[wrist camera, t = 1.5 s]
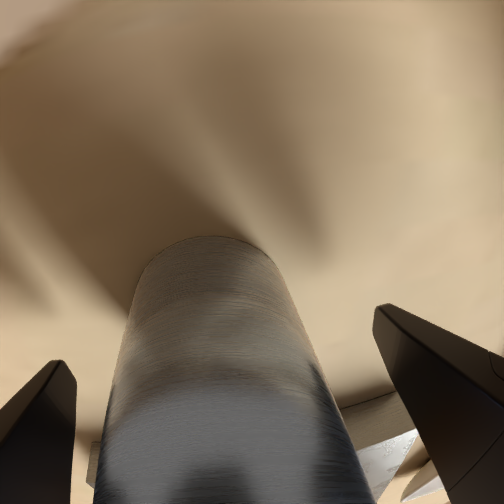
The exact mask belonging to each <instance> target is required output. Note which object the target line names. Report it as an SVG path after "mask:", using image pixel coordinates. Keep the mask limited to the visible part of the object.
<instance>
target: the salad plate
mask: <svg viewBox="0 0 504 504" xmlns="http://www.w3.org/2000/svg"><path fill="white" fill-rule="evenodd" d="M442 489H445V488H444V486H443V484H442V482H441V479H440V477H439V475H438V473H437V471H436V469H435V466H434V464H433V462H432V460H430V461H429V462H428V463H427V464H425V465H424V466H423V467H422V468H421V469H420V471H419V472H418V473H417V474H416V475H415V476H414V477H413V479H412V480H411V481H410V482H409V484H408V485H407V487H406V488H405V490H404V492H403V494H402V497H401V502H406V501H409V500H412V499H416V498H419V497H422V496H425V495H428V494H431V493H434V492H437V491H439V490H442Z"/></svg>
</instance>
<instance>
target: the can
mask: <svg viewBox="0 0 504 504" xmlns="http://www.w3.org/2000/svg"><path fill="white" fill-rule="evenodd" d="M93 504H377V502H376V500H375V497H374V495H373V492H372V490H371V487H370V485H369V482H368V480H367V477H366V475H365V472H364V470H363V467H362V465H361V462H360V460H359V457H358V455H357V452H356V450H355V447H354V445H353V443H352V440H351V438H350V435H349V433H348V430H347V428H346V425H345V423H344V421H343V418H342V416H341V413H340V411H339V409H338V406H337V404H336V401H335V399H334V396H333V394H332V392H331V389H330V387H329V385H328V382H327V380H326V377H325V375H324V373H323V370H322V368H321V366H320V363H319V361H318V358H317V356H316V354H315V351H314V349H313V347H312V344H311V342H310V340H309V337H308V335H307V333H306V330H305V328H304V326H303V323H302V321H301V319H300V316H299V314H298V312H297V309H296V307H295V305H294V302H293V300H292V298H291V296H290V293H289V291H288V289H287V286H286V284H285V282H284V280H283V277H282V275H281V273H280V271H279V270H278V268H277V267H276V265H275V264H274V263H273V261H272V260H271V259H270V258H269V257H268V256H267V255H265V254H264V253H263V252H261V251H260V250H259V249H257V248H255V247H254V246H252V245H250V244H248V243H245V242H243V241H240V240H237V239H233V238H229V237H221V236H203V237H195V238H191V239H187V240H183V241H181V242H178V243H176V244H173V245H172V246H170V247H168V248H166V249H164V250H163V251H162V252H160V253H159V254H158V255H156V256H155V257H154V258H153V259H152V260H151V261H150V262H149V264H148V265H147V266H146V268H145V269H144V271H143V273H142V274H141V276H140V278H139V281H138V284H137V287H136V291H135V294H134V298H133V301H132V305H131V308H130V312H129V316H128V320H127V323H126V327H125V331H124V335H123V339H122V343H121V347H120V351H119V355H118V359H117V364H116V368H115V372H114V377H113V381H112V386H111V391H110V396H109V401H108V406H107V411H106V416H105V422H104V427H103V433H102V439H101V445H100V451H99V458H98V465H97V472H96V480H95V489H94V498H93Z"/></svg>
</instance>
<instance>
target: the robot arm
mask: <svg viewBox="0 0 504 504" xmlns="http://www.w3.org/2000/svg"><path fill="white" fill-rule="evenodd" d="M372 331H373V336H374V339H375V341H376V343H377V346H378V348H379V351H380V353H381V356H382V358H383V361H384V363H385V366H386V369H387V371H388V374H389V376H390V378H391V380H392V382H393V384H394V386H395V388H396V390H397V392H398V394H399V396H400V398H401V400H402V402H403V404H404V406H405V407H406V409H407V411H408V413H409V415H410V417H411V419H412V421H413V423H414V425H415V427H416V429H417V431H418V433H419V435H420V437H421V439H422V441H423V443H424V445H425V448H426V450H427V452H428V454H429V456H430V458H431V460H432V462H433V464H434V466H435V469H436V471H437V473H438V475H439V477H440V479H441V482H442V484H443V486H444V488H445V490H446V492H447V495H448V498H449V500H450V502H451V504H504V358H503V357H501V356H499V355H497V354H495V353H493V352H491V351H489V352H488V350H486V349H484V348H482V347H480V346H478V345H476V344H474V343H472V342H470V341H468V340H466V339H464V338H462V337H460V336H457V335H455V334H453V333H451V332H449V331H447V330H445V329H443V328H441V327H439V326H437V325H435V324H432V323H430V322H428V321H426V320H424V319H422V318H420V317H418V316H416V315H414V314H411V313H409V312H407V311H405V310H403V309H401V308H399V307H397V306H395V305H392V304H390V303H387V304H383V305H379V306H377V307H376V308H375V312H374V320H373V328H372ZM76 397H77V382H76V379H75V377H74V376H73V374H72V372H71V371H70V369H69V368H68V366H67V365H66V363H65V362H64V361H63V360H51V361H50V362H48V363H47V364H46V365H45V366H44V367H43V368H42V369H41V370H40V371H39V372H38V373H37V374H36V375H35V376H34V377H33V378H32V379H31V380H30V381H29V382H28V383H26V384H25V385H24V386H23V387H22V388H21V389H20V390H19V391H18V392H17V393H16V394H15V395H14V396H13V397H12V398H11V399H10V400H9V401H8V402H7V403H6V404H5V405H4V406H3V407H2V408H1V409H0V504H70V493H71V474H72V460H73V449H74V439H75V427H76Z"/></svg>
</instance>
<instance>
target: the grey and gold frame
mask: <svg viewBox="0 0 504 504" xmlns="http://www.w3.org/2000/svg"><path fill="white" fill-rule="evenodd" d="M339 411H340V413H341V416H342V418H343V421H344V423H345V425H346V428H347V430H348V433H349V435H350V438H351V440H352V443H353V445H354V447H355V450H356V452H357V455H358V457H359V460H360V462H361V465H362V467H363V470H364V472H365V475H366V477H367V480H368V482H369V485H370V487H371V490H372V492H373V495H374V497H375V500H376V502H377V500H378V499H379V498H380V496H381V495H382V493H383V492H384V490H385V489H386V487H387V486H388V484H389V483H390V481H391V480H392V478H393V476H394V475H395V473H396V472H397V470H398V468H399V467H400V465H401V463H402V462H403V460H404V458H405V457H406V455H407V453H408V452H409V450H410V448H411V446H412V444H413V443H414V441H415V439H416V437H417V435H418V431H417V429H416V427H415V425H414V423H413V421H412V419H411V417H410V415H409V413H408V411H407V409H406V407H405V406H404V404H403V402H402V400H401V398H400V396H399V394H398V392H397V391H396V392H393V393H390V394H388V395H385V396H382V397H379V398H376V399H373V400H370V401H367V402H364V403H361V404H357V405H354V406H351V407H348V408H344V409H341V410H339ZM100 445H101V442H92V446H91V452H90V458H89V464H88V470H87V477H86V483H88V484H89V485H90V486H91V487H93V488H94V489H95V480H96V472H97V465H98V458H99V451H100Z"/></svg>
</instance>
